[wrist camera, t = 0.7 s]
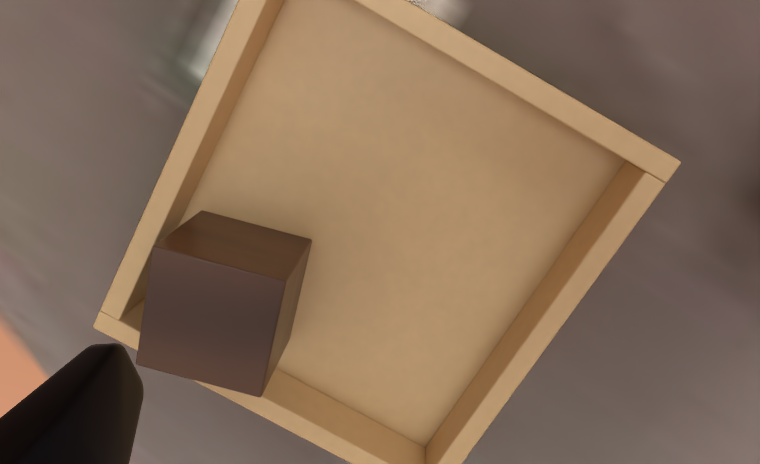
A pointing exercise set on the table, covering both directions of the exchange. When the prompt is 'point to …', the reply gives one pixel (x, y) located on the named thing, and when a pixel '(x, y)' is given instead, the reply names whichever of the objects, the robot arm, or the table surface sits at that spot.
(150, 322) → the walnut block
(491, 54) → the tray
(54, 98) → the table surface
